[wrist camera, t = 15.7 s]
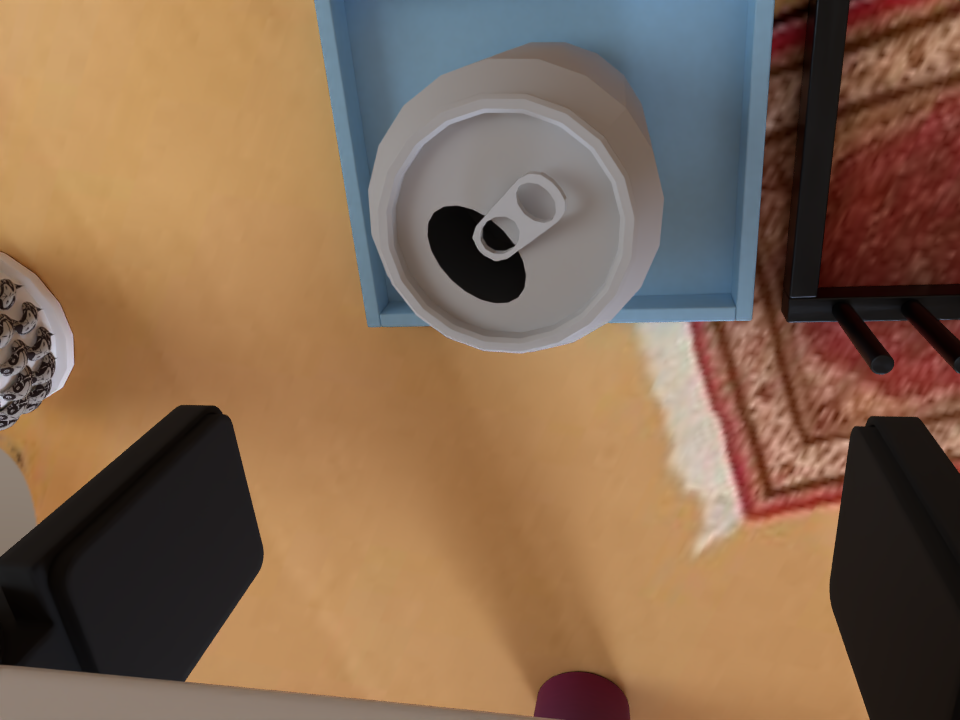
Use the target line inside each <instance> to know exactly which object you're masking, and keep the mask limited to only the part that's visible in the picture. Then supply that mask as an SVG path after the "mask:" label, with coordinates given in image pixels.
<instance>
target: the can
mask: <svg viewBox="0 0 960 720" xmlns="http://www.w3.org/2000/svg"><path fill="white" fill-rule="evenodd" d="M368 196H369V209H370V222H371V235H372V237H373V240H374V242H375V245H376V248H377V250H378V253H379V255H380V258H381V260H382V263H383V266H384V268H385V271H386V273H387V276H388V277H389V278H390V280H391V283H392V285H393V286H394V287H395V289H396V290H397V291H398V293H399V294H400V295H401V296H402V298H403V299H404V300H405V302H406V303H407V304H408V305H409V307H410V308H411V309H412V311H413V312H414V313H415V314H416V315H417V316H418V317H419V318H421V319H422V320H423V321H425V322H426V323H428V324H429V325H430V326H432V327H433V328H434V329H436V330H437V331H439V332H440V333H441V334H443V335H444V336H445V337H447V338H449V339H452V340H455V341H457V342H460V343H463V344H466V345H468V346H471V347H474V348H477V349H480V350H482V351H492V352H508V353H526V352H534V351H539V350H543V349H547V348H552V347H556V346H560V345H564V344H569V343H573V342H575V341H577V340H578V339H580V338H582V337H583V336H585V335H587V334H589V333H590V332H592V331H594V330H596V329H597V328H599V327H601V326H602V325H604V324H606V323H608V322H609V321H611V320H612V319H613V318H614V317H615V315H616V314H617V313H618V312H619V311H620V310H621V309H622V308H623V307H624V306H625V304H626V303H627V302H628V301H629V300H630V299H631V298H632V297H633V296H634V295H635V293H636V292H637V291H638V290H639V289H640V288H641V286H642V284H643V281H644V279H645V277H646V275H647V272H648V270H649V268H650V266H651V264H652V261H653V259H654V257H655V255H656V252H657V250H658V248H659V245H660V235H661V225H662V215H663V205H664V196H663V192H662V187H661V183H660V179H659V174H658V170H657V166H656V162H655V157H654V153H653V149H652V144H651V140H650V136H649V132H648V128H647V123H646V119H645V115H644V111H643V107H642V104H641V102H640V100H639V99H638V97H637V96H636V94H635V92H634V91H633V89H632V87H631V86H630V84H629V83H628V81H627V79H626V78H625V76H624V75H623V74H622V73H621V72H619V71H618V70H617V69H616V68H615V67H613V66H612V65H611V64H610V63H608V62H607V61H606V60H605V59H603V58H602V57H601V56H600V55H598V54H597V53H595V52H592V51H589V50H586V49H583V48H580V47H578V46H575V45H572V44H569V43H566V42H530V43H527V44H524V45H522V46H519V47H516V48H513V49H510V50H507V51H505V52H502V53H499V54H496V55H494V56H491V57H488V58H486V59H483V60H480V61H478V62H475V63H472V64H470V65H467V66H464V67H462V68H459V69H456V70H454V71H451V72H448V73H446V74H443V75H441V76H439V77H438V78H437V79H436V80H434V81H433V82H432V83H431V84H430V85H428V86H427V87H426V88H425V89H423V90H422V91H421V92H420V93H418V94H417V95H416V96H415V97H414V98H412V99H411V100H410V101H409V102H407V103H406V104H405V105H404V106H403V107H402V109H401V110H400V112H399V114H398V115H397V117H396V118H395V120H394V122H393V123H392V125H391V126H390V128H389V130H388V131H387V133H386V135H385V136H384V138H383V139H382V141H381V143H380V144H379V146H378V150H377V155H376V159H375V163H374V167H373V171H372V176H371V180H370V184H369V188H368Z"/></svg>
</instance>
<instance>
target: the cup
mask: <svg viewBox="0 0 960 720" xmlns="http://www.w3.org/2000/svg"><path fill="white" fill-rule="evenodd" d="M534 717H542V718H551V719H560V720H630V713H629V705H628V701H627V699H626V697H625V695H624V693H623V692H622V691H621V690H620V689H619V687H617V686H616V685H615V684H614V683H612V682H611V681H609V680H607V679H605V678H603V677H601V676H598V675H595V674H591V673H586V672H568V673H563V674H559V675H557V676H554V677H552V678H551V679H549V680H548V681H546V682H545V683H544V684H543V686H542V687H541V689H540V690H539V692H538V697H537V702H536V707H535V712H534Z"/></svg>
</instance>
